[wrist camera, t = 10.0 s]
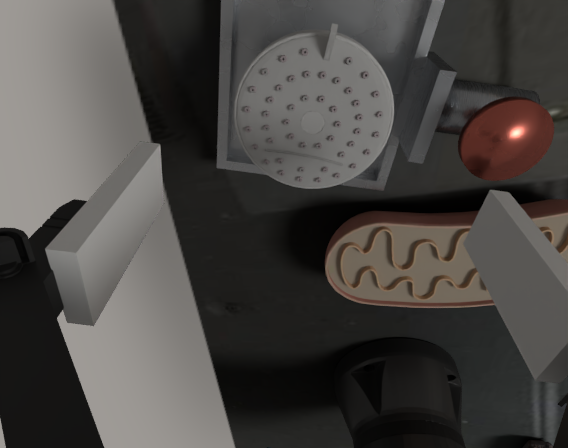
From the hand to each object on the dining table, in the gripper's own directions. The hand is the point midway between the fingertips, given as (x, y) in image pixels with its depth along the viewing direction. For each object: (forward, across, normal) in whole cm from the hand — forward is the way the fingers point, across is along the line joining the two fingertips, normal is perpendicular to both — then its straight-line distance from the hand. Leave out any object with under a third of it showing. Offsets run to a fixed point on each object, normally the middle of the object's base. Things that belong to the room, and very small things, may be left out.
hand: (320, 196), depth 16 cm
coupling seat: (+16, -4, 0) cm, 16 cm away
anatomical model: (+16, -14, +11) cm, 25 cm away
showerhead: (+15, 0, 0) cm, 15 cm away
